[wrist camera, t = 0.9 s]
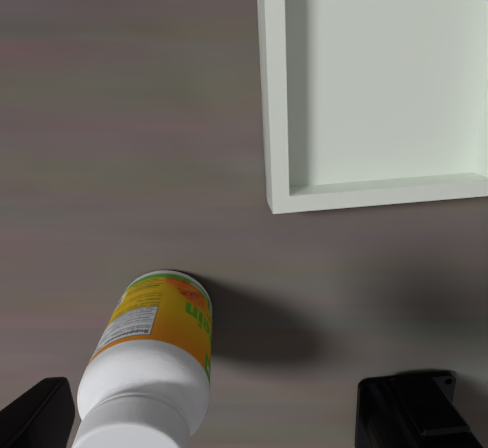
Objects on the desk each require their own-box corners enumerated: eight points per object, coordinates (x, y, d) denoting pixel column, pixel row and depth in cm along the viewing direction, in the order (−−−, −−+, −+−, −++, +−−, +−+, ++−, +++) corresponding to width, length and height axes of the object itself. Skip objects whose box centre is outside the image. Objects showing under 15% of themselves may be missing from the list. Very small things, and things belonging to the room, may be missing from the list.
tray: (474, 182, 20) (509, 194, 17) (266, 199, 19) (273, 213, 17) (515, -74, 16) (567, -104, 13) (254, -61, 15) (260, -89, 13)
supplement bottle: (225, 328, 22) (230, 495, 13) (145, 356, 22) (93, 538, 13) (192, 254, 20) (169, 386, 11) (104, 285, 20) (11, 439, 11)
